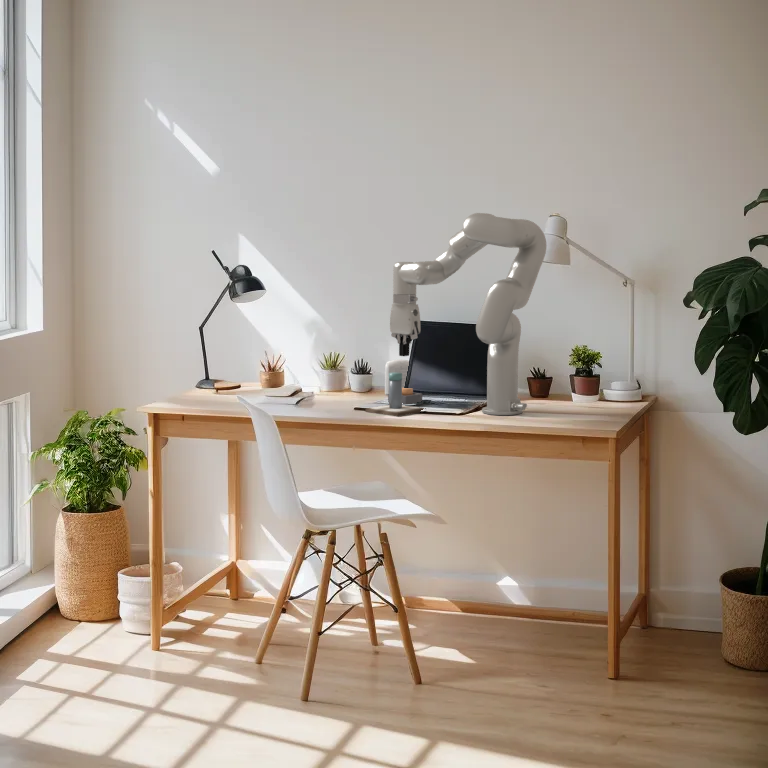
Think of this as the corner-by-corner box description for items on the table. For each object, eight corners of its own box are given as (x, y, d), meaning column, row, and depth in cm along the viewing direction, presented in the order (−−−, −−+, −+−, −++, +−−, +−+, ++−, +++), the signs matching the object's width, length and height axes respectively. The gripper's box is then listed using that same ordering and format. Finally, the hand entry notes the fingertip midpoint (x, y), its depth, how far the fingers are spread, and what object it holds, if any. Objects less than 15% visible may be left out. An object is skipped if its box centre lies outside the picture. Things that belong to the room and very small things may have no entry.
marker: (405, 407, 314) (404, 373, 312) (396, 409, 311) (395, 374, 309) (395, 406, 317) (395, 372, 315) (386, 407, 314) (386, 373, 312)
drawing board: (425, 411, 314) (425, 407, 314) (397, 416, 305) (397, 412, 304) (393, 406, 324) (393, 403, 323) (365, 411, 314) (365, 407, 314)
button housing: (422, 404, 329) (422, 393, 328) (405, 406, 323) (405, 396, 323) (404, 401, 334) (404, 391, 334) (388, 404, 329) (388, 394, 328)
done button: (415, 396, 329) (415, 388, 328) (405, 397, 325) (405, 390, 325) (404, 394, 332) (404, 387, 332) (394, 396, 328) (394, 388, 328)
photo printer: (410, 392, 356) (410, 358, 355) (414, 394, 352) (414, 359, 351) (383, 394, 353) (383, 359, 351) (387, 395, 349) (387, 360, 347)
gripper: (429, 300, 322) (428, 356, 324) (396, 298, 332) (395, 353, 335) (413, 301, 317) (413, 358, 319) (380, 299, 327) (380, 354, 329)
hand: (404, 355), depth 327 cm, fingers closed
